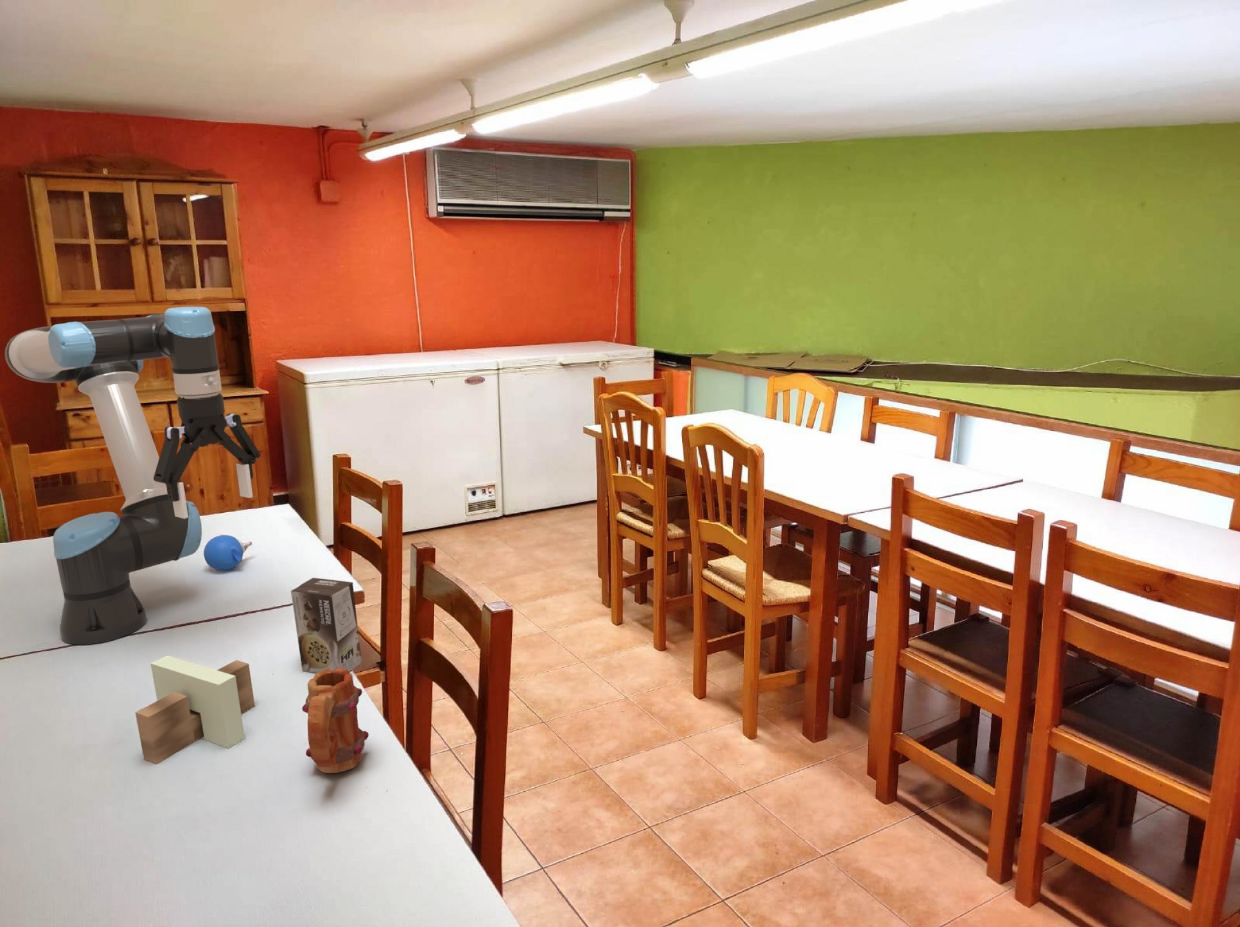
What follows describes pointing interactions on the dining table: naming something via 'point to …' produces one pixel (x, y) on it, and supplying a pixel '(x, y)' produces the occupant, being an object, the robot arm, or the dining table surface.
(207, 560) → the blue rubber bulb
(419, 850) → the dining table surface
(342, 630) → the coffee box
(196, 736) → the walnut board
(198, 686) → the sage board
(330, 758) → the mug
